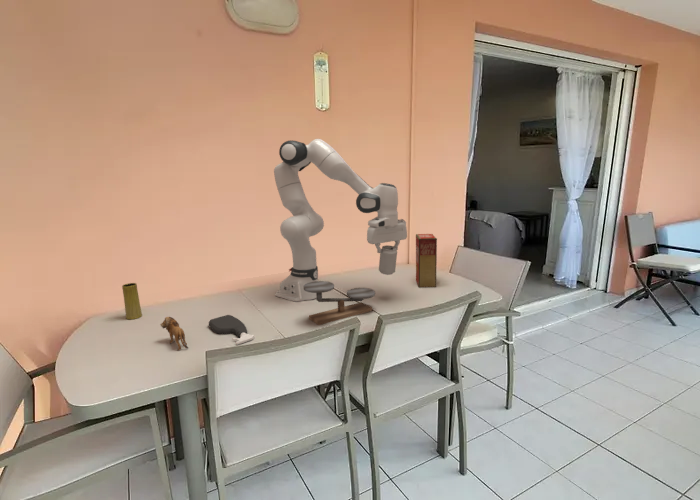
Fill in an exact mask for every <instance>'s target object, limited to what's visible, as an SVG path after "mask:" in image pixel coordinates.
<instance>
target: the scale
mask: <svg viewBox="0 0 700 500" xmlns="http://www.w3.org/2000/svg"><path fill="white" fill-rule="evenodd" d="M303 287H304V290H305V291H307V292H311V293H316V296H317V298H316V301H317V302H318V303H329V302H330V303H334V302H337V308H333V309H328V310H324V311H320V312H318V313H313V314H309V315H308V320H310V321H311V322H312V323H314V324H316V325H317V326H321V325H324V324H329V323H332V322H335V321H339V320H344V319H347V318H350V317H354V316H357V315H362V314H365V313H369V312H372V311H373V306H371V305H369V304H366V303H365V302H363V300H366V299H371V298H373V297H375V295H376V291H375V290H374V289H372V288H367V287H353V288H350V289H348V290H347V291H346V296H347V297H331V298H330V297H328V298H323V293H327V292H331V291H332V290H334V289H335V284H334V283H333V282H331V281H326V280H318V281H315V282H310V283H307V284H305V285H304V286H303ZM345 302H355V303H353V304H348V305H345Z"/></svg>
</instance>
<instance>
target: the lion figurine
mask: <svg viewBox="0 0 700 500" xmlns="http://www.w3.org/2000/svg"><path fill="white" fill-rule="evenodd" d="M159 325H160V327H161V329H165V330H167V332H168V333H169V334H168V335H169V338H170V341H169V344H173V343H174V342H175V344H176V345H177V347H178V348H177V351H181V350H182V346H183V347H184V348H185V349H187V350H188V349H189V347H188V346H187V345H188V343H187V342H186V336H185V332H184V330H183V328H181V327H180V323H179V322H177V320H176V319H175V318H174V317H171V316H166V317H164V320H163V321H162V322H161V323H160V324H159ZM181 345H182V346H181Z"/></svg>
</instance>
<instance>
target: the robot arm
mask: <svg viewBox="0 0 700 500" xmlns="http://www.w3.org/2000/svg"><path fill="white" fill-rule="evenodd" d="M278 154H279V157H280V158H279V159H281V161H282V162H281V163H279V164H277V165H275V167H274V169H273V173H274V181H275V185H276V188H277V190H278V191H277V192H278V195H279V197H280V201H281V204H282V206H283V207H284V208H285V209H287V210H288V211H289V212H290V213H291V215H292V216H290V217H287V218H286V219H285V220H283V221H282V222H281V224H280V226H279V227H280V234H281V236H282V237H283V239H285V240H286V241H287V242H288V244H289V247H290V251H291V254H292V255H291V256H292V267H290V268H289V269H288V272H290V275H288V276H286V278H285V279H283V280H282V281H281V282H280V285H279V290H277V291H276V292H275V293H274V296H275V297H277V298H282V299H285V300H289V301H292V302H301V301H309V300H315V299H317V296H316V293H311V292H307V291H305V290H304V287H303V286H304V285H305V284H307V283H310V282H315V281H319V279H318V278H319V269H318V265H317V264H318V263H317V262H318V261H317V251H316V249H315V247H313V246H312V244H311V241H310V237H313V236H316V235H317V234H319V233H320V232H322V231H323V229H324V226H325V225H324V224H325V223H324V219H323V216H321V215H320V214H318V213H317V212H316V211H315V210H314V208H313V207H312V205H311V204H310V202H309V201H308V199H307V196H306V193H305V192H304V189H303V188H304V187H303V185H302V183H301V179H300V177H299V172H302V171H303V170H304V169H306V168H307V167H308V166H309V165H311V164H314V166H316V167H317V169H318V170H319V171H320V172H321V173H322V174H323V175H325V176H326V177H327V178H328V179H330V180H333V181H338V182H342V183H343V184H347V185H348V186H349V187H350V188H351V189H352V190H353V191H354V192H356V193H357V194H358V195H357V197H356V199H355V205H356V208H357V209H358V210H359V211H360V212H361V213H364V214H371V213H374V212H377V216H376V217H374V218H371V219H370V220H368V222H367V225H368V227H367V231H366V233H367V234H366V242H367V243H368V244H370V245H374V246H375V248H376V252H377V253H378V254H380V253H382V247H381V244H384V243H391V242H394V245H393V246H394V247H395V248H396V250H397V251H398V250H399V248H398V247H399V246H400V244H401V243H400V242H401V241H404V240H406V239H407V237H408V230H407V222H406V220H404V219H403V218H400V219H398V218H399V212H398V205H399V193H398V192H399V191H398V188H397V186H395V185H394V184H392V183H388V182H387V183H385V182H381V183H379V184H378V185H376V186H375V187H372V186H370V184H368V183H367V182H366V181H365V180H364V179H363V178H362V177H361V176H360V175H358V174H357V172H356V171H354V170H353V168H352V167H351V166H350V165H349V164H348V163H347V162H346V161H345V159H344V158H343V157H342V156H341V155H340V153H339V152H338V151H336V149H335V148H333V146H332V145H330V144H329V143H328V142H326V141H324V140H323V139H321V138H315V139H312V140H311V141H310V142H309V143H308V144H305V143H304V142H300V141H298V140H286V141H284V142H283V143H281V145H280V147H279V151H278Z"/></svg>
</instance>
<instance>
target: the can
mask: <svg viewBox="0 0 700 500" xmlns="http://www.w3.org/2000/svg"><path fill="white" fill-rule="evenodd" d="M381 249H382V253H379V262H378V272H380V274H383V275H387V276H388V275H393V274H394V273H395V272H396V269H397V268H396V266H397V256H398V250H396V248H395V247H394V245H387V244H386V245H382V247H381Z"/></svg>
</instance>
